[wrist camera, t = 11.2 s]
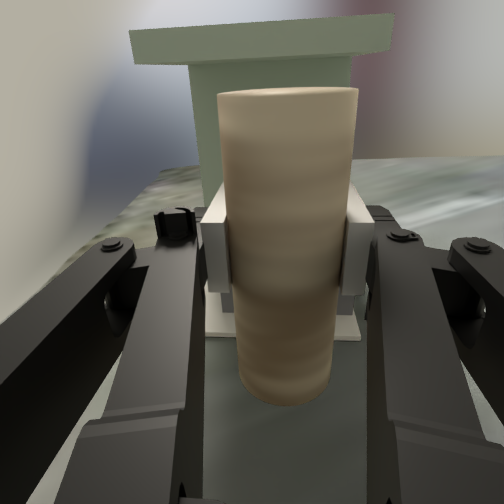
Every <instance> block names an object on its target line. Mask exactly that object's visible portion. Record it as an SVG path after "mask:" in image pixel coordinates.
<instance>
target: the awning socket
mask: <svg viewBox="0 0 504 504" xmlns="http://www.w3.org/2000/svg"><path fill="white" fill-rule="evenodd" d="M393 22H394V13H391V14H374V15H359V16H344V17H328V18H313V19H297V20H282V21H267V22H251V23H237V24H221V25H205V26H191V27H174V28H159V29H144V30H129V35H130V41H131V46H132V52H133V57H134V63H135V64H151V65H152V64H153V65H157V64H158V65H160V64H161V65H188V70H189V78H190V86H191V95H192V103H193V112H194V120H195V129H196V137H197V146H198V154H199V162H200V171H201V180H202V188H203V196H204V205H205V207H209V206H210V204H211V202H212V201H213V199H214V197H215V195H216V193H217V192H218V190H219V188H220V186H221V184H222V183H223V181H224V179H223V167H222V154H221V142H220V129H219V117H218V105H217V94H219V93H224V92H231V91H241V90H253V89H269V88H292V87H350V74H351V62H352V56H356V55H363V54H370V53H375V52H382V51H389V50H390V46H391V38H392V30H393ZM204 289H205V296H206V314H205V336H207V337H236V328H235V316H234V303H233V291H232V285H231V288H230V292H229V293H211V292H208V284H207V282H206V284H205V287H204ZM354 299H355V295H342V294H341V290H340V286H339V293H338V303H337V313H336V323H335V333H334V340H347V341H360V340H361V334H360V331H359V327H358V323H357V320H356V316H355V313H354V309H353V307H354Z"/></svg>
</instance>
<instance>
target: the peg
mask: <svg viewBox="0 0 504 504" xmlns="http://www.w3.org/2000/svg"><path fill="white" fill-rule="evenodd" d="M358 92H359V89H357V88H349V87H292V88H269V89H253V90H241V91H231V92H224V93H219V94H217V105H218V117H219V129H220V142H221V154H222V167H223V179H224V192H225V204H226V216H227V228H228V241H229V253H230V266H231V278H232V291H233V303H234V316H235V328H236V341H237V353H238V365H239V375H240V379H241V381H242V383H243V385H244V386H245V388H246V389H247V390H248V391H249V392H250V393H251V394H252V395H253V396H255V397H256V398H258V399H260V400H262V401H264V402H266V403H269V404H273V405H278V406H296V405H301V404H304V403H307V402H309V401H311V400H313V399H315V398H316V397H318V396H319V395H320V394H321V393H322V392H323V391H324V390H325V388H326V387H327V385H328V383H329V379H330V373H331V363H332V353H333V343H334V333H335V323H336V313H337V303H338V293H339V282H340V272H341V262H342V252H343V242H344V232H345V222H346V212H347V202H348V192H349V182H350V172H351V162H352V151H353V142H354V132H355V122H356V111H357V101H358Z"/></svg>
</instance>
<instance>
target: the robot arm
mask: <svg viewBox="0 0 504 504" xmlns="http://www.w3.org/2000/svg"><path fill="white" fill-rule="evenodd" d="M154 220H155V225H156V231H157V236H158V239H157V242H156V246H153V247H148V248H141V249H135V247H134V243H133V241H132V240H131V239H129V238H124V237H111V238H107V239H105V240H103V241H101V242H98V243H97V244H95V245H94V246H92V247H91V248H90V249H89V250H88V251H86V252H85V253H84V254H83V255H82V256H81V257H79V258H78V259H77V260H76V261H75V262H74V263H72V264H71V265H70V266H69V267H68V268H67V269H65V270H64V271H63V272H62V273H61V274H60V275H58V276H57V277H56V278H55V279H54V280H53V281H51V282H50V283H49V284H48V285H47V286H46V287H44V288H43V289H42V290H41V291H40V292H39V293H37V294H36V295H35V296H34V297H33V298H31V299H30V300H29V301H28V302H27V303H26V304H24V305H23V306H22V307H21V308H20V309H19V310H17V311H16V312H15V313H14V314H13V315H12V316H10V317H9V318H8V319H7V320H6V321H5V322H3V323H2V324H1V325H0V504H26V502H27V501H28V499H29V497H30V496H31V494H32V493H33V491H34V489H35V488H36V486H37V485H38V483H39V482H40V480H41V478H42V477H43V475H44V474H45V472H46V471H47V469H48V467H49V466H50V464H51V463H52V461H53V460H54V458H55V456H56V455H57V453H58V452H59V450H60V448H61V447H62V445H63V444H64V442H65V441H66V439H67V437H68V436H69V434H70V433H71V431H72V430H73V428H74V426H75V425H76V423H77V422H78V420H79V419H80V417H81V415H82V414H83V412H84V411H85V409H86V407H87V406H88V404H89V403H90V401H91V400H92V398H93V396H94V395H95V393H96V392H97V390H98V389H99V387H100V385H101V384H102V382H103V381H104V379H105V378H106V376H107V374H108V373H109V371H110V370H111V368H112V366H113V365H114V363H115V362H116V360H117V359H118V357H119V355H120V354H121V352H122V351H123V352H122V355H121V358H120V362H119V365H118V368H117V371H116V375H115V378H114V381H113V384H112V387H111V391H110V394H109V397H108V400H107V404H106V407H105V410H104V413H103V415H102V417H101V418H100V419H95V420H89V421H88V422H87V423H86V424H85V425H84V426H83V428H82V430H81V432H80V434H79V436H78V438H77V441H76V443H75V446H74V449H73V452H72V455H71V457H70V460H69V463H68V466H67V468H66V471H65V474H64V477H63V480H62V482H61V485H60V488H59V491H58V493H57V496H56V499H55V502H54V504H225V503H223V502H220V501H218V500H208V499H203V430H204V372H205V314H206V296H205V289H204V287H205V284H206V282H207V284H208V292H211V293H229V292H230V288H231V285H232V278H231V266H230V253H229V241H228V228H227V216H226V204H225V192H224V181H223V183H222V184H221V186H220V188H219V190H218V192H217V193H216V195H215V197H214V199H213V201H212V202H211V204H210V206H209V207H196V208H194V209H192V208H190V207H185V206H174V207H168V208H164V209H161V210H159V211H157V212H156V213H155V214H154ZM366 282H367V285H368V288H369V292H368V299H367V306H366V312H365V319H364V320H367V504H504V447H503V446H502V445H501V444H497V443H493V442H488V441H487V440H486V438H485V436H484V434H483V431H482V428H481V425H480V422H479V419H478V415H477V412H476V409H475V406H474V403H473V399H472V396H471V393H470V390H469V387H468V383H467V380H466V377H465V374H464V371H463V367H462V364H461V361H462V363H463V364H464V366H465V367H466V369H467V370H468V372H469V373H470V375H471V376H472V378H473V380H474V381H475V383H476V384H477V386H478V387H479V389H480V390H481V392H482V393H483V395H484V396H485V398H486V400H487V401H488V403H489V404H490V406H491V407H492V409H493V410H494V412H495V413H496V415H497V417H498V418H499V420H500V421H501V423H502V424H503V426H504V249H503V248H501V247H500V246H498V245H496V244H495V243H492V242H489V241H487V240H486V239H482V238H480V239H479V238H477V237H472V238H467V237H465V238H457V239H455V240H453V241H452V243H451V247H450V250H449V251H448V250H442V249H435V248H430V247H425V246H424V243H423V240H422V238H421V237H420V235H418V234H416V233H415V232H412V231H409V230H406V229H401V227H400V226H399V224H398V223H397V222H396V221H395V219H394V217H392V215H391V213H390V212H389V210H387V209H385V208H383V207H382V206H365V205H364V203H363V201H362V199H361V198H360V196H359V194H358V192H357V190H356V189H355V187H354V185H353V183H352V182H351V180H350V182H349V192H348V202H347V212H346V222H345V232H344V242H343V252H342V262H341V272H340V282H339V286H340V290H341V294H342V295H359V296H364V294H365V287H366ZM104 301H106V304H104ZM485 307H486V313H485V312H484V309H485ZM460 360H461V361H460Z"/></svg>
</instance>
